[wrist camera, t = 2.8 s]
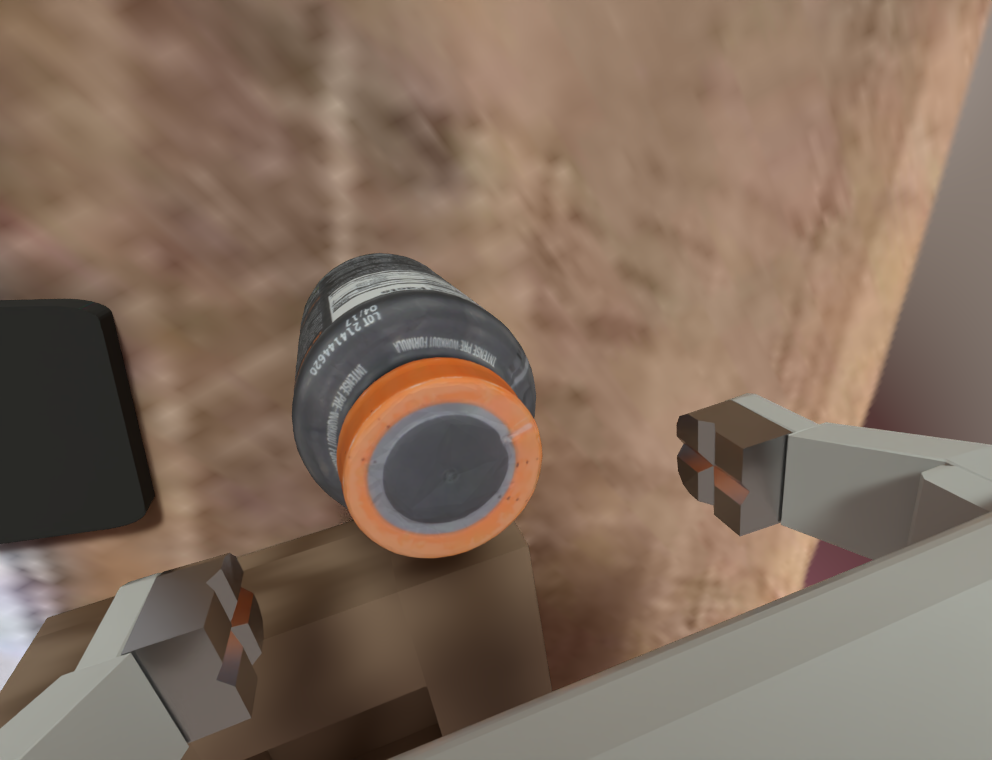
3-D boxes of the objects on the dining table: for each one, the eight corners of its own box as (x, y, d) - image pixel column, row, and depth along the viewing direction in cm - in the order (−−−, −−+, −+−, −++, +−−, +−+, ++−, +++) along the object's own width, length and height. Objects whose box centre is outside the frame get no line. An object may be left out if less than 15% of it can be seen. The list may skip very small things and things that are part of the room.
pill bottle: (400, 425, 21) (472, 640, 11) (268, 349, 19) (207, 542, 9) (486, 311, 21) (642, 429, 11) (363, 216, 18) (415, 255, 8)
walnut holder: (220, 863, 27) (200, 999, 22) (47, 617, 20) (-34, 745, 15) (536, 724, 31) (572, 814, 26) (489, 477, 24) (528, 545, 19)
